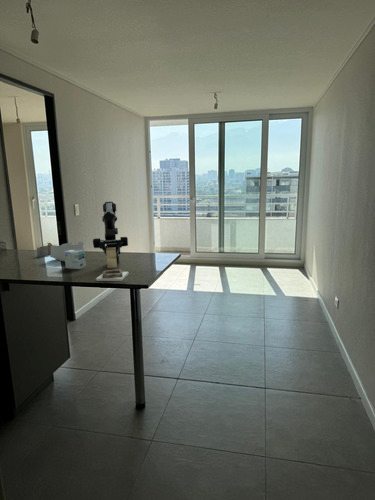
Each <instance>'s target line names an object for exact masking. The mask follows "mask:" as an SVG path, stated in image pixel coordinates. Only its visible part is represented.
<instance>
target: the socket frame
mask: <svg viewBox="0 0 375 500" xmlns="http://www.w3.org/2000/svg"><path fill="white" fill-rule="evenodd" d="M122 272H123V269H111V270H103V271H102V274H103V278H114V277H123V274H122Z"/></svg>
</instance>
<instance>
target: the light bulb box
mask: <svg viewBox="0 0 375 500" xmlns="http://www.w3.org/2000/svg"><path fill="white" fill-rule="evenodd" d="M85 252H86V251H85V249H84V250H69V251H65V252H64V256H65V261H64V263H65V269H69V270H72V269H73V270H81V269H84V268H86V267H87V263H86V254H85Z"/></svg>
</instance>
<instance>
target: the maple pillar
mask: <svg viewBox="0 0 375 500" xmlns="http://www.w3.org/2000/svg"><path fill="white" fill-rule="evenodd" d="M106 255H107V256H106ZM106 255H105V256H106V263H107V265H106V266H107V268H108V269H109V268H117V267H118V264H117V259H116V247H113V248H106Z"/></svg>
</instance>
